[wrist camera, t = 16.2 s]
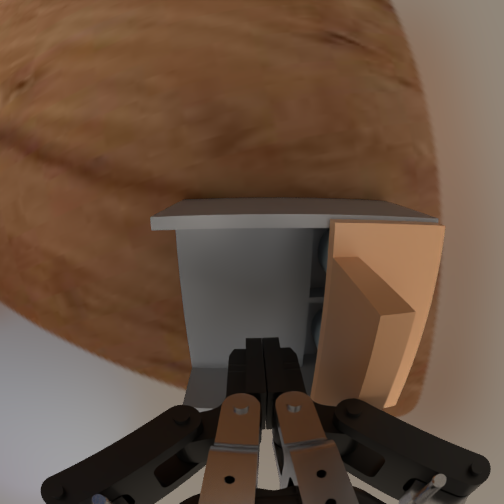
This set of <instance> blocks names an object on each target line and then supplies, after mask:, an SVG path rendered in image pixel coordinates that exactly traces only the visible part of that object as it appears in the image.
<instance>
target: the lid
mask: <svg viewBox="0 0 504 504" xmlns="http://www.w3.org/2000/svg"><path fill="white" fill-rule="evenodd" d="M444 234H445V226H444V225H442V224H439V223H437V222H416V221H390V220H355V219H330V229H329V246H328V260H327V272H326V283H325V294H324V303H323V312H322V321H321V329H320V337H319V344H318V351H317V358H316V365H315V371H314V377H313V383H312V389H311V395H310V398H311V399H312V400H313V401H314V402H316V403H318V404H321V405H328V406H337V405H338V403H340V402H341V401H343V400H345V399H351V398H355V399H360V400H362V401H365V402H366V403H368V404H370V405H372V406H374V407H376V408H378V409H380V410H383V408H386V407H390V406H394V405H396V402H397V400H398V398H399V396H400V393H401V391H402V389H403V386H404V384H405V381H406V379H407V376H408V374H409V371H410V368H411V366H412V363H413V360H414V358H415V355H416V352H417V349H418V346H419V343H420V340H421V337H422V333H423V330H424V327H425V323H426V320H427V316H428V313H429V309H430V305H431V301H432V297H433V293H434V289H435V284H436V280H437V275H438V270H439V265H440V259H441V254H442V247H443V241H444Z"/></svg>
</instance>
